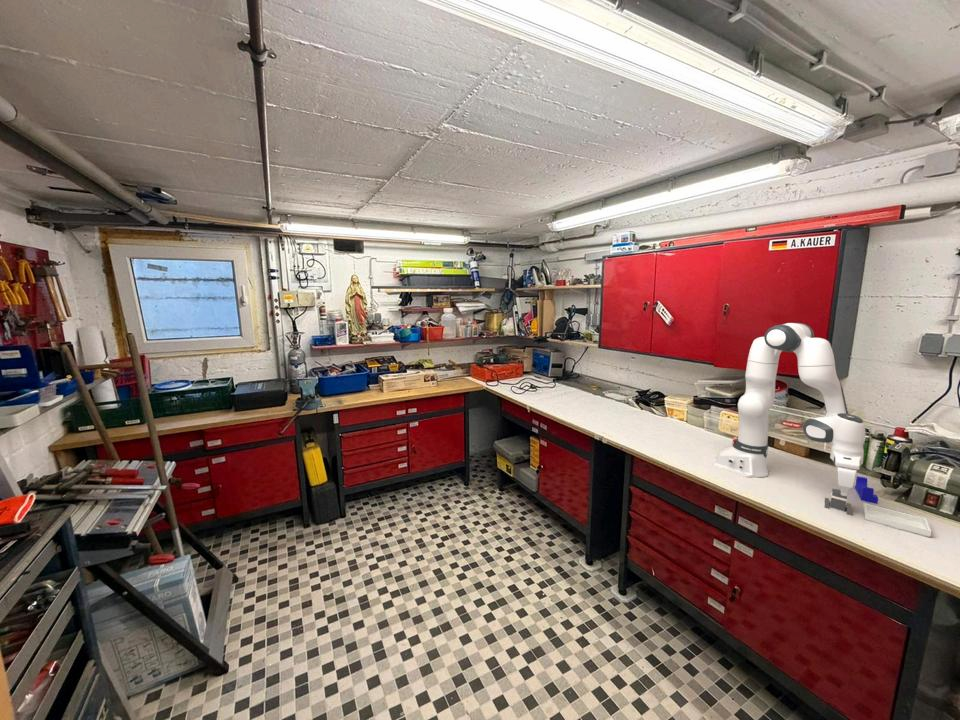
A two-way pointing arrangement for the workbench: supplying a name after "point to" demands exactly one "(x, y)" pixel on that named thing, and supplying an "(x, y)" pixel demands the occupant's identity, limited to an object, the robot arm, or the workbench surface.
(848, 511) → the holder
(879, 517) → the tray
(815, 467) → the workbench surface
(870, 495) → the blue stepped block
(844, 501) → the grey block
